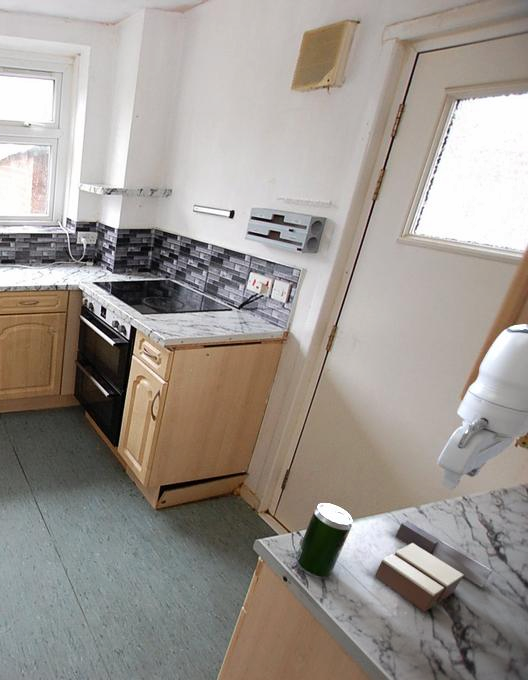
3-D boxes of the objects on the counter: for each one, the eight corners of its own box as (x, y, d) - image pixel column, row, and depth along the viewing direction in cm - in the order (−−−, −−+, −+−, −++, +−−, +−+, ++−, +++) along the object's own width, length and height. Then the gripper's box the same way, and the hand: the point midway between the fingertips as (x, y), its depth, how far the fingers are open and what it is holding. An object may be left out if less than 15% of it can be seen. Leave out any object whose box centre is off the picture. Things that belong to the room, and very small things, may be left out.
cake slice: (434, 605, 75) (444, 587, 74) (424, 612, 74) (434, 594, 72) (384, 570, 81) (392, 553, 80) (374, 576, 80) (382, 558, 79)
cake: (453, 592, 78) (463, 574, 77) (437, 603, 76) (447, 585, 74) (404, 559, 84) (412, 542, 83) (387, 568, 82) (396, 551, 81)
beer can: (297, 573, 79) (320, 518, 75) (292, 551, 84) (313, 498, 80) (333, 585, 77) (358, 529, 73) (326, 561, 82) (348, 508, 78)
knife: (485, 585, 80) (494, 568, 79) (479, 589, 79) (489, 572, 78) (401, 533, 91) (408, 518, 90) (395, 536, 90) (402, 521, 89)
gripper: (496, 435, 71) (456, 506, 76) (539, 413, 81) (501, 477, 86) (446, 415, 76) (412, 483, 81) (492, 397, 86) (459, 458, 91)
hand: (458, 480), depth 83 cm, fingers open, 8 cm apart
